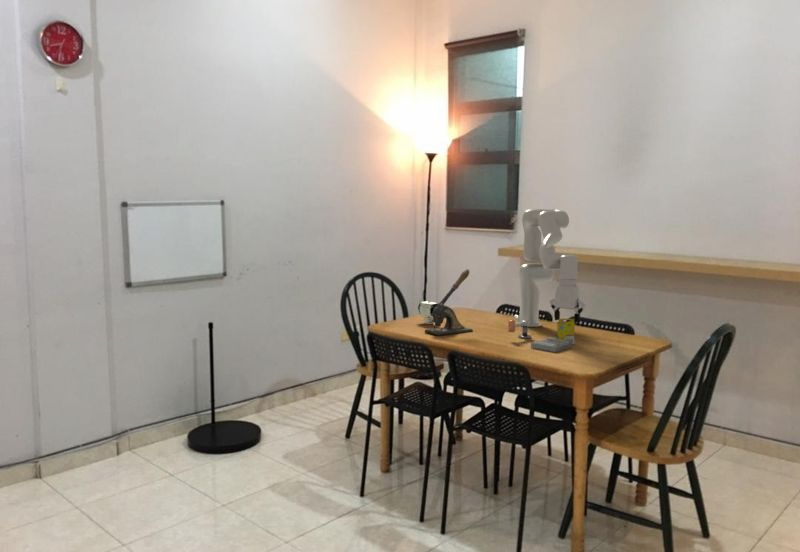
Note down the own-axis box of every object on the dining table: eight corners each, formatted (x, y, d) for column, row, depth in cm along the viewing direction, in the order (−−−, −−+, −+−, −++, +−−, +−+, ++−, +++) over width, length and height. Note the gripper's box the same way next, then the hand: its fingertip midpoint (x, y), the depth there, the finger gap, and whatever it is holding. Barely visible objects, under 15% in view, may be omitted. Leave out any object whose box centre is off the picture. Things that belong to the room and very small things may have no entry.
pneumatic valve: (423, 321, 342) (424, 298, 340) (440, 324, 333) (440, 301, 332) (416, 322, 338) (416, 299, 337) (432, 326, 330) (432, 302, 328)
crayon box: (572, 343, 294) (573, 317, 293) (574, 344, 291) (575, 318, 290) (556, 342, 294) (557, 317, 293) (557, 344, 291) (558, 318, 290)
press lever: (505, 331, 297) (505, 320, 296) (523, 327, 307) (524, 316, 307) (513, 332, 294) (514, 321, 293) (531, 328, 304) (532, 317, 304)
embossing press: (423, 332, 314) (424, 270, 310) (461, 328, 327) (463, 268, 323) (436, 336, 304) (437, 272, 301) (475, 331, 317) (477, 270, 314)
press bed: (530, 347, 283) (531, 341, 283) (546, 343, 293) (547, 336, 292) (555, 352, 275) (555, 345, 275) (571, 347, 284) (571, 341, 284)
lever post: (515, 337, 305) (516, 325, 304) (522, 335, 309) (523, 324, 308) (526, 339, 301) (527, 327, 300) (533, 337, 305) (534, 325, 304)
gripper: (546, 281, 292) (545, 319, 294) (581, 285, 280) (580, 324, 282) (555, 280, 298) (554, 318, 299) (590, 283, 286) (588, 322, 287)
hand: (566, 321), depth 291 cm, fingers open, 9 cm apart
